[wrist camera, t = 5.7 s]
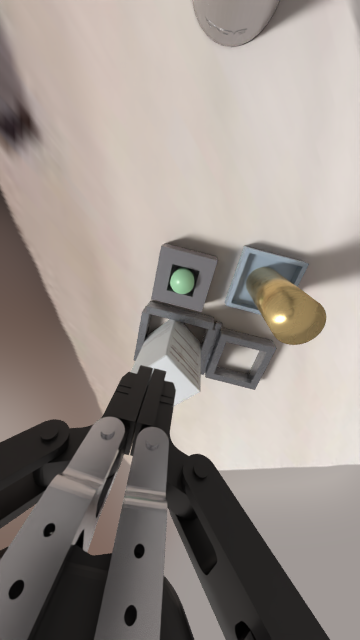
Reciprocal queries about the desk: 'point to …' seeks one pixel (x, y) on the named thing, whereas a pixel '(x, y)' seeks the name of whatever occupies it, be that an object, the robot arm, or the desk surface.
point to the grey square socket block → (187, 258)
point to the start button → (182, 280)
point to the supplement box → (173, 357)
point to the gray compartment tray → (212, 344)
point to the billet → (285, 307)
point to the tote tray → (257, 259)
